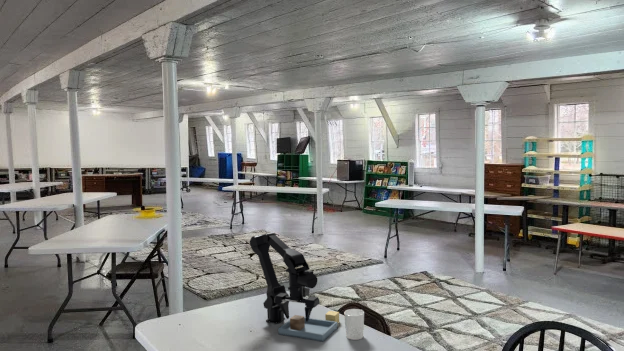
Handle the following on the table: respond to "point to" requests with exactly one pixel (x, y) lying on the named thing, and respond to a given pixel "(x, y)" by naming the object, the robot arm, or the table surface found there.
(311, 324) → the slate tray
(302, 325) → the walnut block
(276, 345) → the table surface
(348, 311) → the white cup
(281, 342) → the table surface
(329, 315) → the ochre block
